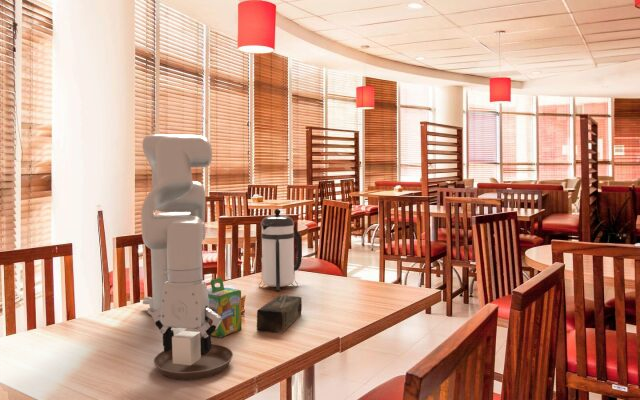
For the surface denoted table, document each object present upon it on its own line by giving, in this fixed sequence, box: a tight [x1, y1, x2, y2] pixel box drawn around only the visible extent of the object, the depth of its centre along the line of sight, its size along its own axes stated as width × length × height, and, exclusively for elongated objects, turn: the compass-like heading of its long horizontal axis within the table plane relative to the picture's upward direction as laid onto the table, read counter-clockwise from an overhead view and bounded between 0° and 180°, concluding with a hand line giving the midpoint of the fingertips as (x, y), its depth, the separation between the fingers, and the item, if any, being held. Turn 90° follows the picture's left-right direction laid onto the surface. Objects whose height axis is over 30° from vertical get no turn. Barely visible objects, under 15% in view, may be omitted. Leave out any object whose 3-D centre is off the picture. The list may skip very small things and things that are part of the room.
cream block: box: [172, 330, 201, 365], centre depth 115 cm, size 4×4×6 cm
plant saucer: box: [153, 343, 234, 381], centre depth 119 cm, size 18×18×3 cm
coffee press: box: [258, 208, 303, 293], centre depth 197 cm, size 17×16×30 cm
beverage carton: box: [256, 293, 303, 334], centre depth 152 cm, size 8×19×7 cm, turn 165°
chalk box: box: [207, 277, 242, 338], centre depth 144 cm, size 9×9×15 cm
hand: (187, 351), depth 115 cm, fingers open, 8 cm apart
